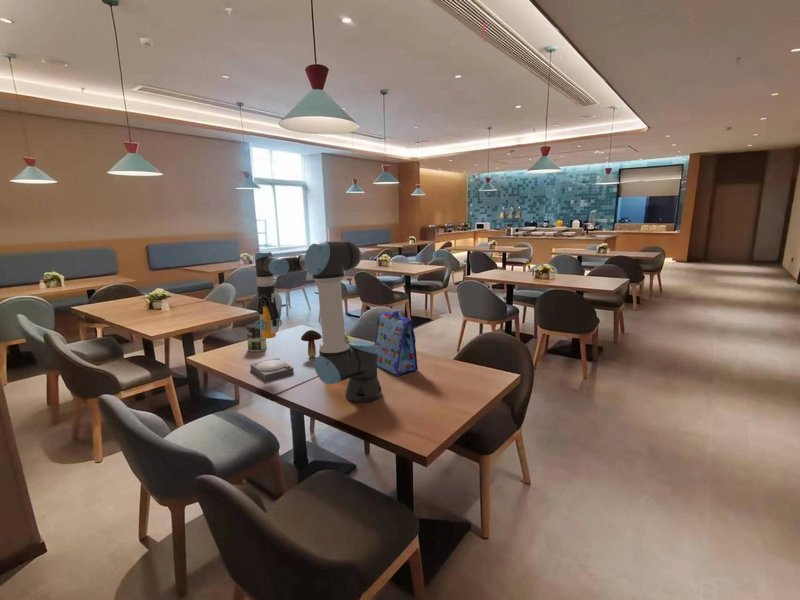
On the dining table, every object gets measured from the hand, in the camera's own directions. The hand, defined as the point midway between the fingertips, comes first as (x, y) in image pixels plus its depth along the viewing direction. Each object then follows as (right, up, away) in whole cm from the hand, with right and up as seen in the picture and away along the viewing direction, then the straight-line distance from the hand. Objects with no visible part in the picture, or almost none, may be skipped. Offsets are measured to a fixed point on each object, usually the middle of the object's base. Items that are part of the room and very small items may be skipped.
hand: (268, 329), depth 189 cm
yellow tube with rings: (0, -4, +1) cm, 4 cm away
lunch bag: (+59, -20, +10) cm, 63 cm away
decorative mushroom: (+15, -17, +25) cm, 33 cm away
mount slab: (0, -21, +4) cm, 21 cm away
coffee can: (-19, -14, +38) cm, 45 cm away
